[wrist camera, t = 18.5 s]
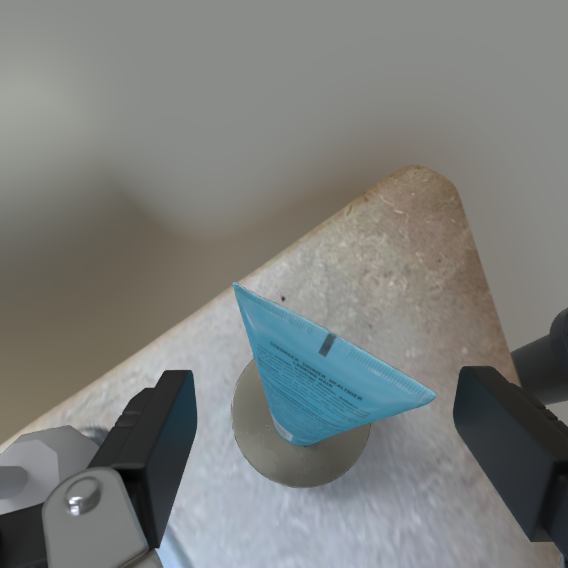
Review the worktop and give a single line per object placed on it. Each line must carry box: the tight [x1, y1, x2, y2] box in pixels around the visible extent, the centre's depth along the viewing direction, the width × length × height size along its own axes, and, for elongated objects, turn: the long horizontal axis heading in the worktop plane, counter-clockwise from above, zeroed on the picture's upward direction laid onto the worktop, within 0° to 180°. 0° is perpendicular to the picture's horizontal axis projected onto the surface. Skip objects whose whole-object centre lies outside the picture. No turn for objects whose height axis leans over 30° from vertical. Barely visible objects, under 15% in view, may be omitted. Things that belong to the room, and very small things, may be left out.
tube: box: [233, 282, 436, 445], centre depth 20 cm, size 7×5×19 cm, turn 64°
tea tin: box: [231, 358, 371, 488], centre depth 32 cm, size 11×11×8 cm
